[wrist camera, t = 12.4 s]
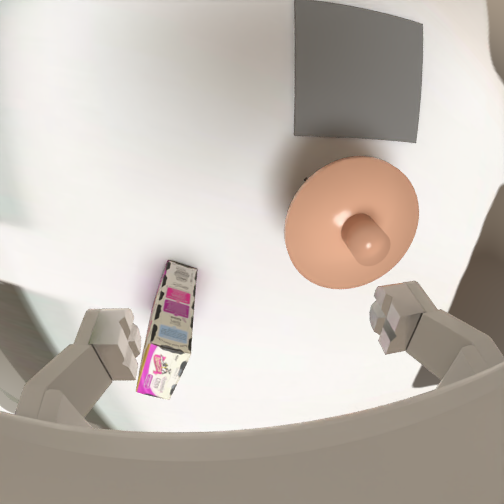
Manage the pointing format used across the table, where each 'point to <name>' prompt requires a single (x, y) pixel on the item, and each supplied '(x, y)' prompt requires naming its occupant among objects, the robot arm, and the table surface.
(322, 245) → the lid
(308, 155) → the table surface
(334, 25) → the mat
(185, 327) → the candy bar box
